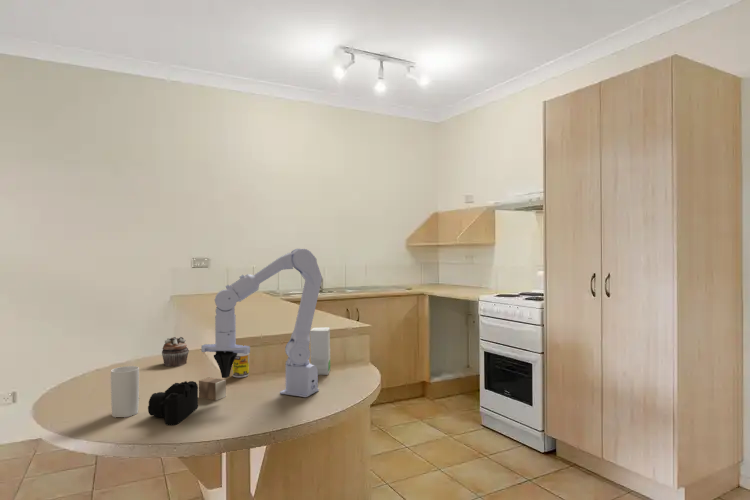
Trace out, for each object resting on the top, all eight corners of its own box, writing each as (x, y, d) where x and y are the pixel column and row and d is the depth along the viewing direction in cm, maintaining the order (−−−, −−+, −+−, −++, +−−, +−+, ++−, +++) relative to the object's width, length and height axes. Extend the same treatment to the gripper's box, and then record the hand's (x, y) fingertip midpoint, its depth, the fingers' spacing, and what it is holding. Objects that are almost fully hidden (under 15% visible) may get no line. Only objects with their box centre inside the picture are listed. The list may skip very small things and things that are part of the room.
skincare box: (328, 375, 165) (328, 330, 165) (309, 375, 165) (309, 330, 165) (330, 369, 173) (330, 326, 173) (312, 369, 173) (312, 326, 173)
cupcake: (156, 366, 177) (156, 339, 177) (171, 360, 187) (171, 335, 186) (179, 367, 175) (179, 340, 175) (193, 361, 185) (193, 335, 185)
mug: (134, 417, 124) (134, 371, 124) (106, 419, 123) (106, 372, 123) (145, 404, 134) (145, 362, 134) (120, 406, 133) (120, 363, 132)
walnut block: (225, 379, 141) (208, 377, 144) (216, 383, 138) (198, 380, 141) (225, 396, 141) (208, 393, 144) (216, 400, 138) (198, 397, 141)
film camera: (168, 406, 133) (168, 374, 133) (202, 406, 133) (202, 374, 133) (138, 426, 118) (138, 390, 118) (176, 427, 118) (176, 391, 118)
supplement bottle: (231, 378, 161) (231, 348, 161) (233, 374, 166) (233, 345, 166) (247, 377, 162) (247, 347, 162) (250, 373, 167) (249, 344, 167)
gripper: (254, 329, 141) (254, 374, 142) (210, 327, 144) (210, 372, 144) (243, 333, 134) (243, 381, 135) (197, 331, 137) (197, 378, 137)
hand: (225, 377), depth 139 cm, fingers closed
